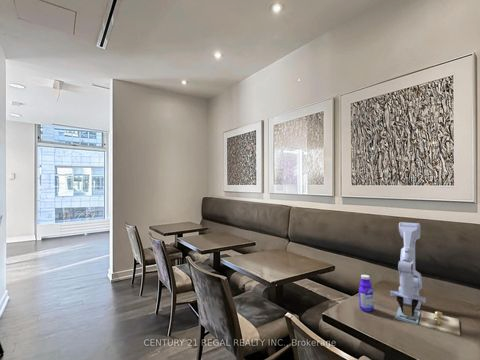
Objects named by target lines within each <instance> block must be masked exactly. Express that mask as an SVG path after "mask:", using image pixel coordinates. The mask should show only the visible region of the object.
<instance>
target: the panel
mask: <svg viewBox="0 0 480 360" xmlns="http://www.w3.org/2000/svg"><path fill="white" fill-rule="evenodd" d="M420 317H421V311H417V310H415V311H414V316H413V315H412V305H410V304H406V303H404V304H403V313H402V311H401V307H400V306H399V307H398V309H397V311H396V314H395V316H394V319H395V320H398V321H401V322H404V323H405V322H406V323H409V324H412V325H416V326H417V325H418V326H419V322H420Z"/></svg>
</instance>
